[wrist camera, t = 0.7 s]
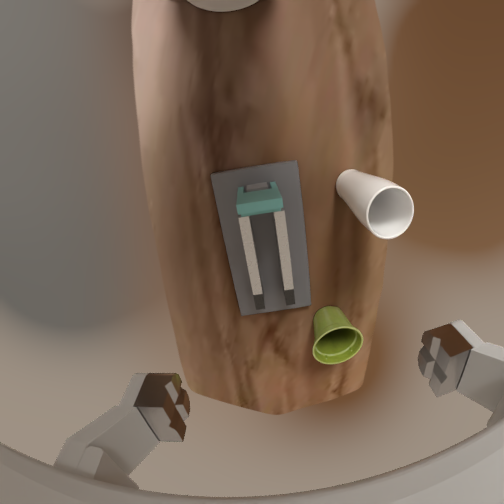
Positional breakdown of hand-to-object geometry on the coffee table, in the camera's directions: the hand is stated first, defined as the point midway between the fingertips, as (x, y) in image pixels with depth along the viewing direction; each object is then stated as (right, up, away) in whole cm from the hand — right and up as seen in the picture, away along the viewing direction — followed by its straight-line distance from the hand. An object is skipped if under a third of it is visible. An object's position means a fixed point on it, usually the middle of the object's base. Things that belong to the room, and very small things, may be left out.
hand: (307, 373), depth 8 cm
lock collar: (-1, +12, +34) cm, 36 cm away
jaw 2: (+3, +4, +39) cm, 39 cm away
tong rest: (+1, +4, +40) cm, 40 cm away
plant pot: (+13, -9, +47) cm, 50 cm away
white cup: (+14, +15, +36) cm, 41 cm away
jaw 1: (-2, +3, +39) cm, 39 cm away
